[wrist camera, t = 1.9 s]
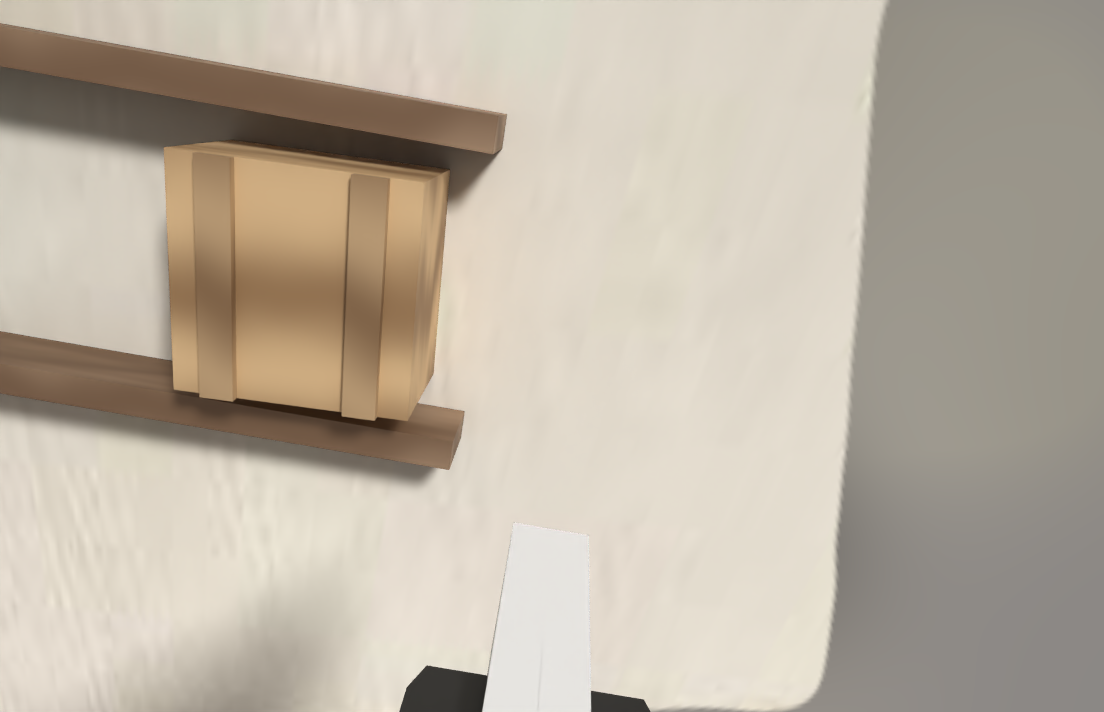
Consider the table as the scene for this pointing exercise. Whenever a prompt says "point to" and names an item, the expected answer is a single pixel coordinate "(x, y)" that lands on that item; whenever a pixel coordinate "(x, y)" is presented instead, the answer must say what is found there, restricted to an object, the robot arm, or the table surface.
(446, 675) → the robot arm
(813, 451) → the table surface
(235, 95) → the bay
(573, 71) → the table surface
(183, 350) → the crate
